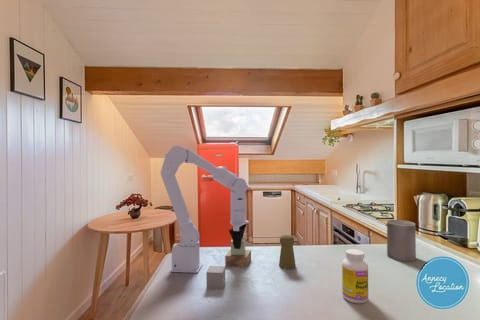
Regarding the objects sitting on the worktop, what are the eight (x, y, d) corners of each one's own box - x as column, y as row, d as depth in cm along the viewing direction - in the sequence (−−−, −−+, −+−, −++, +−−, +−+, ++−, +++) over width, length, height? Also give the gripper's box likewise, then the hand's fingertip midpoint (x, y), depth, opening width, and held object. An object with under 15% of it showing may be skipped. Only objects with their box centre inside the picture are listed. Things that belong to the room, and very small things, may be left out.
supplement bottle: (355, 306, 71) (355, 257, 71) (337, 295, 77) (336, 249, 77) (374, 301, 73) (373, 253, 74) (354, 290, 80) (354, 246, 80)
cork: (295, 269, 95) (295, 238, 95) (278, 268, 96) (278, 237, 96) (295, 263, 101) (295, 233, 101) (279, 262, 102) (279, 233, 102)
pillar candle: (384, 252, 112) (384, 216, 112) (411, 254, 110) (410, 216, 110) (390, 260, 103) (390, 221, 103) (420, 263, 100) (419, 222, 100)
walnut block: (225, 266, 100) (225, 255, 100) (231, 258, 107) (231, 248, 107) (246, 268, 98) (246, 257, 98) (251, 260, 105) (251, 250, 105)
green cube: (231, 255, 100) (230, 241, 100) (232, 250, 105) (232, 237, 105) (244, 255, 100) (244, 241, 100) (245, 250, 105) (245, 237, 105)
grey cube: (206, 288, 82) (206, 272, 82) (209, 281, 87) (209, 265, 87) (223, 289, 81) (222, 272, 81) (225, 282, 86) (225, 266, 86)
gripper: (247, 213, 95) (247, 252, 95) (249, 206, 109) (250, 239, 109) (227, 212, 96) (227, 251, 96) (232, 206, 110) (232, 239, 110)
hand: (238, 245), depth 103 cm, fingers open, 7 cm apart
